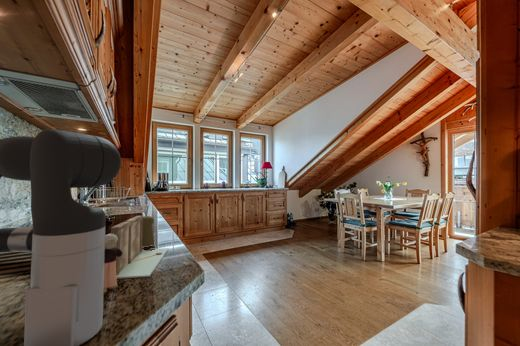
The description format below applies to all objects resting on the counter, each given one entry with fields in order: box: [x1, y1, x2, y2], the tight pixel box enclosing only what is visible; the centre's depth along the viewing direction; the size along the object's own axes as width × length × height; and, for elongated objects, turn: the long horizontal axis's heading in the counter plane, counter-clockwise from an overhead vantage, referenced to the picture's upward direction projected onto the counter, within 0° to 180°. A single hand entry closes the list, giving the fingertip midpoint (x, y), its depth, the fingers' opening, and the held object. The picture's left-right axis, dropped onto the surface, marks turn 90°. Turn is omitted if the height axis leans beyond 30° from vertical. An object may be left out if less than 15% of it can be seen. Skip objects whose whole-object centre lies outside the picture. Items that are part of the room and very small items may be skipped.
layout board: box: [116, 247, 170, 280], centre depth 69 cm, size 23×12×1 cm, turn 10°
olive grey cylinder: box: [142, 215, 155, 246], centre depth 86 cm, size 6×6×11 cm
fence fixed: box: [110, 221, 130, 276], centre depth 62 cm, size 8×2×12 cm, turn 10°
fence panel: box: [124, 215, 144, 262], centre depth 72 cm, size 11×2×12 cm, turn 10°
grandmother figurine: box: [103, 233, 124, 294], centre depth 53 cm, size 8×4×13 cm, turn 168°
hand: (96, 236), depth 73 cm, fingers closed
